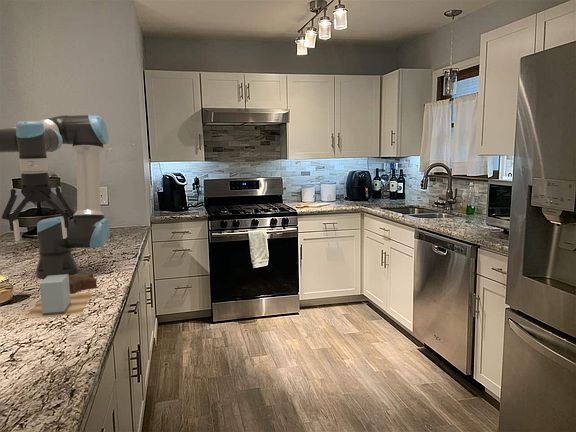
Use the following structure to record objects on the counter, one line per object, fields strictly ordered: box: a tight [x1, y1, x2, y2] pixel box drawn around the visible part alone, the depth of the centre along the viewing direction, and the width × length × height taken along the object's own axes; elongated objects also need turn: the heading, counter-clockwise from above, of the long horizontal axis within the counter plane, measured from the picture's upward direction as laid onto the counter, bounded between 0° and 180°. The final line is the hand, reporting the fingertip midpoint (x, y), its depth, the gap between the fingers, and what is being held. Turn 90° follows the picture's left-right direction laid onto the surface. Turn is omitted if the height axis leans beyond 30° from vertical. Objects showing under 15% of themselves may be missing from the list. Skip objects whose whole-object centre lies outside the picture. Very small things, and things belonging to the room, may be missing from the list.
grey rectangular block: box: [39, 274, 71, 316], centre depth 142 cm, size 9×6×10 cm, turn 14°
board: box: [23, 291, 94, 320], centre depth 147 cm, size 22×16×1 cm
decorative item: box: [68, 273, 98, 294], centre depth 166 cm, size 16×6×15 cm
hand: (41, 239), depth 145 cm, fingers open, 13 cm apart
